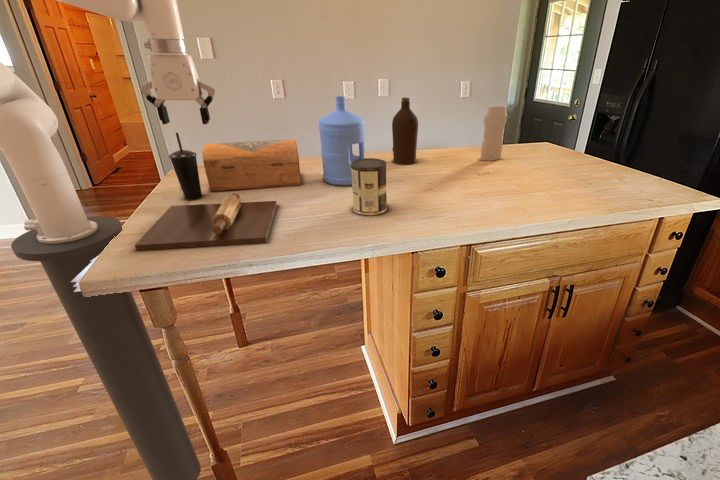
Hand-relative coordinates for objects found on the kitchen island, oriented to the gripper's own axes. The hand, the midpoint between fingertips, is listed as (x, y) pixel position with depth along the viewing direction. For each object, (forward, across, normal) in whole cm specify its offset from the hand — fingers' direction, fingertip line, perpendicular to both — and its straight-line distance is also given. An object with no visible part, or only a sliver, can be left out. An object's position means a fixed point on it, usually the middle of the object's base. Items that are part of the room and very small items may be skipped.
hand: (186, 123), depth 101 cm
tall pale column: (+23, +104, +50) cm, 118 cm away
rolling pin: (+21, +8, -9) cm, 24 cm away
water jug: (+24, +41, +28) cm, 55 cm away
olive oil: (+24, +66, +50) cm, 87 cm away
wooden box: (+25, +10, +29) cm, 40 cm away
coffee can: (+24, +47, -2) cm, 53 cm away
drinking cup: (+25, -8, +15) cm, 31 cm away
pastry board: (+25, +4, -9) cm, 27 cm away
